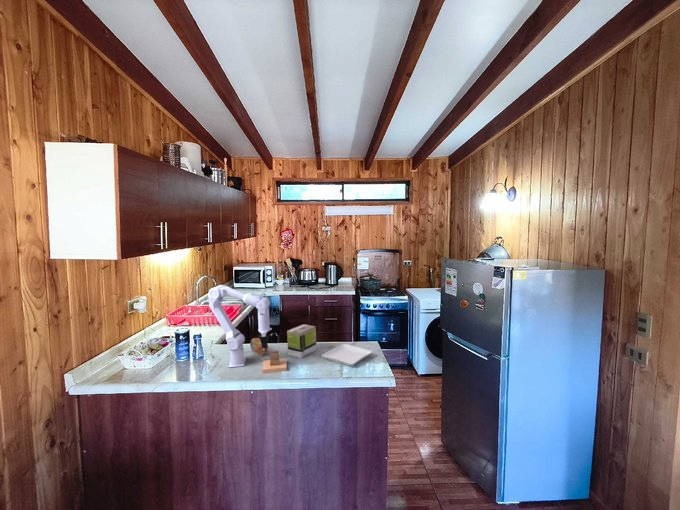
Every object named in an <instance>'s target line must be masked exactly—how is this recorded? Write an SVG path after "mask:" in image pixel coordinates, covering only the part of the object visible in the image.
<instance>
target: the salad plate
mask: <svg viewBox="0 0 680 510" xmlns="http://www.w3.org/2000/svg"><path fill="white" fill-rule="evenodd" d="M372 353H373V351H372V350H369V349H366V348H362V347H359V346H355V345H351V344H347V343H346V344H345V343H341V344H340V345H338V346H336V347H334V348H332V349H330V350H329V351H326V352H324V353H322V354H321V356H322V358H323V359H326V360H328V361H332V362H335V363H338V362H339V364H342V365H345V366H349V367H352V366H354V365H355V364H357V363H359V362H360V361H362V360H363V359H366V358H367V357H369V356H370V355H372Z"/></svg>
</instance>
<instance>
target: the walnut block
mask: <svg viewBox="0 0 680 510" xmlns="http://www.w3.org/2000/svg"><path fill="white" fill-rule="evenodd" d="M279 359H280V350H272V351H270V353H269V360H270V366H274V365H279Z"/></svg>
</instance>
